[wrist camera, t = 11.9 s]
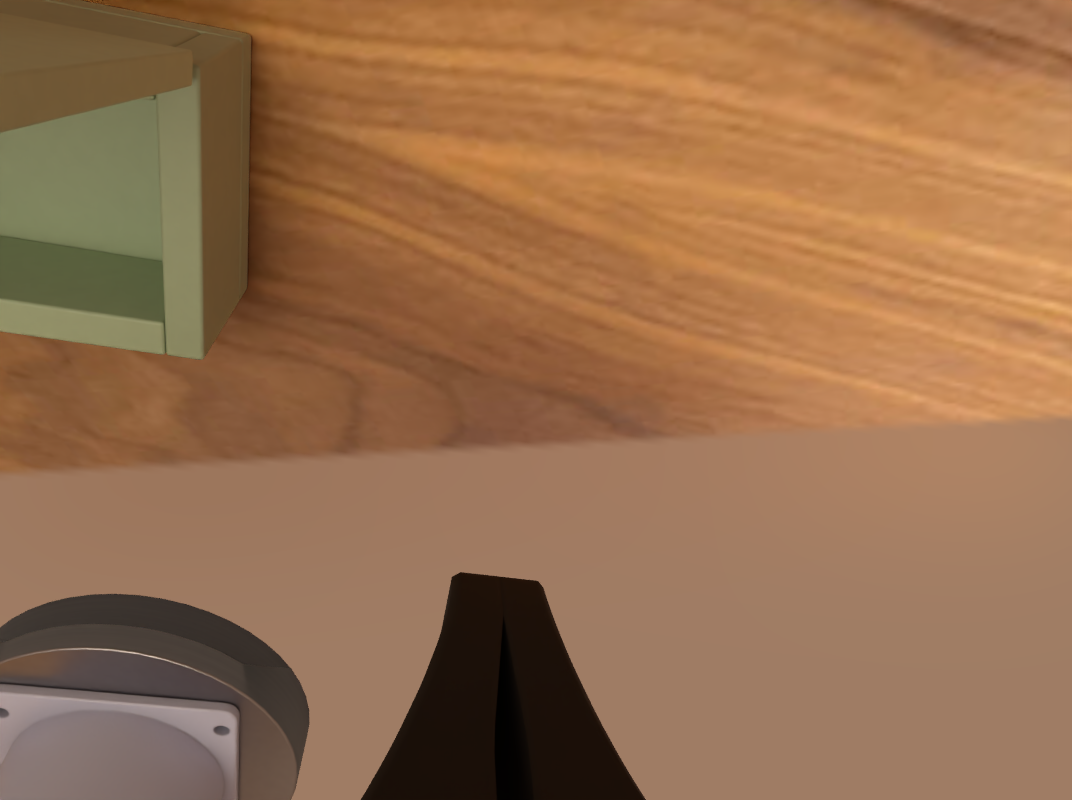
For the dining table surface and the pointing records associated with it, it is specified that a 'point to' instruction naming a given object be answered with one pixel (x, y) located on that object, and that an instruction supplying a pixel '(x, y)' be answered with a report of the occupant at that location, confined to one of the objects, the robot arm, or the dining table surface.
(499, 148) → the dining table surface
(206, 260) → the box
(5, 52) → the lid
